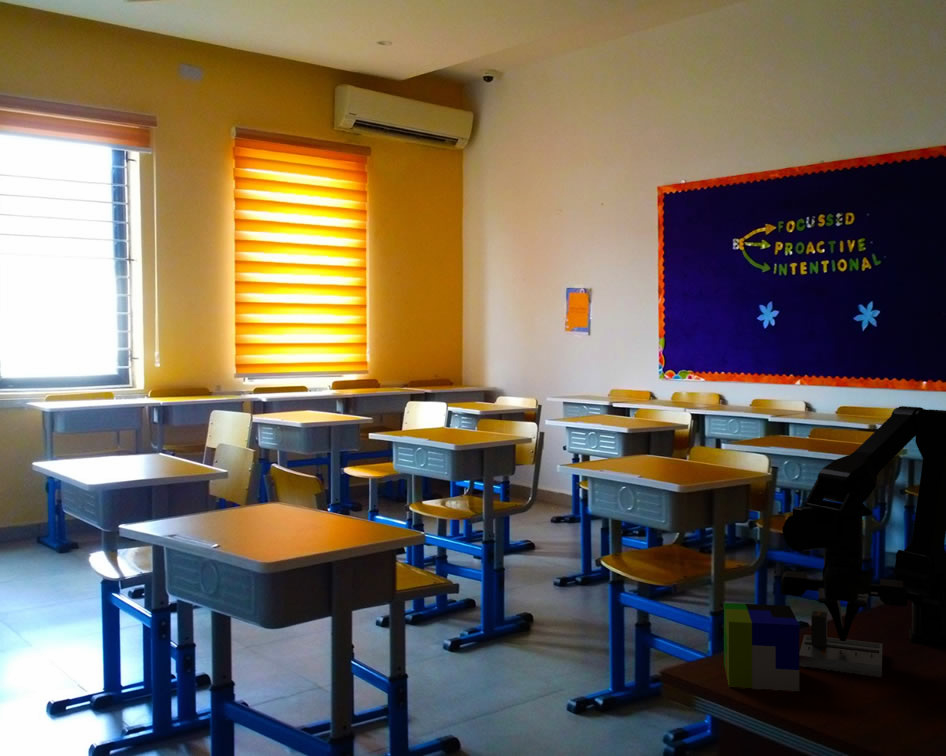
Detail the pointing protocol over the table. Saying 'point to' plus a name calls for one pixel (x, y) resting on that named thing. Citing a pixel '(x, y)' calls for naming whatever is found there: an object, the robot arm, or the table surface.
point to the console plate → (843, 656)
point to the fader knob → (819, 628)
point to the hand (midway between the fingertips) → (842, 640)
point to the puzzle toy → (761, 646)
